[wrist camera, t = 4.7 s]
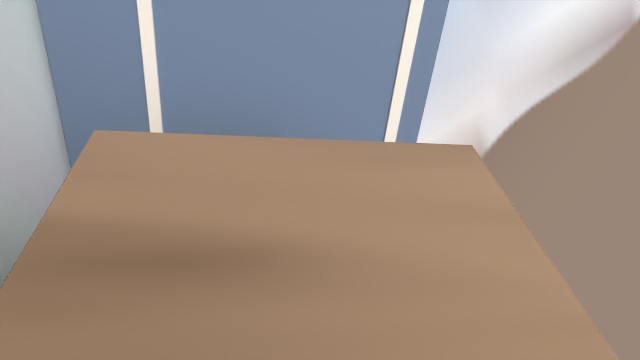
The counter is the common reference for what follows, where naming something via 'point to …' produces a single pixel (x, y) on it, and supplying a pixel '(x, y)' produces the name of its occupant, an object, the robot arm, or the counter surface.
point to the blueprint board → (242, 67)
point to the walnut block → (286, 257)
